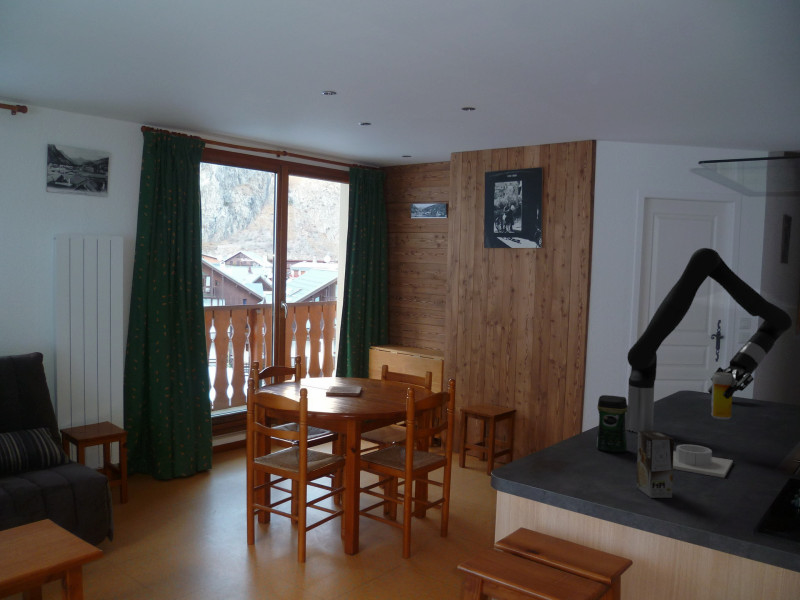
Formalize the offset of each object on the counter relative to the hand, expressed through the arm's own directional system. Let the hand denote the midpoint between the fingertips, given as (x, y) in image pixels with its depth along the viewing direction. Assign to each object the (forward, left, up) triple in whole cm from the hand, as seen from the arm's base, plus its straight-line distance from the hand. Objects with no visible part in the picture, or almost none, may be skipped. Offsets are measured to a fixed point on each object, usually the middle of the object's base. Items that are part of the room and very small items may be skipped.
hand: (717, 394), depth 214 cm
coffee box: (-8, -53, -20) cm, 57 cm away
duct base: (-4, -18, -20) cm, 27 cm away
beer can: (+1, +1, -8) cm, 8 cm away
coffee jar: (-30, -17, -20) cm, 40 cm away
